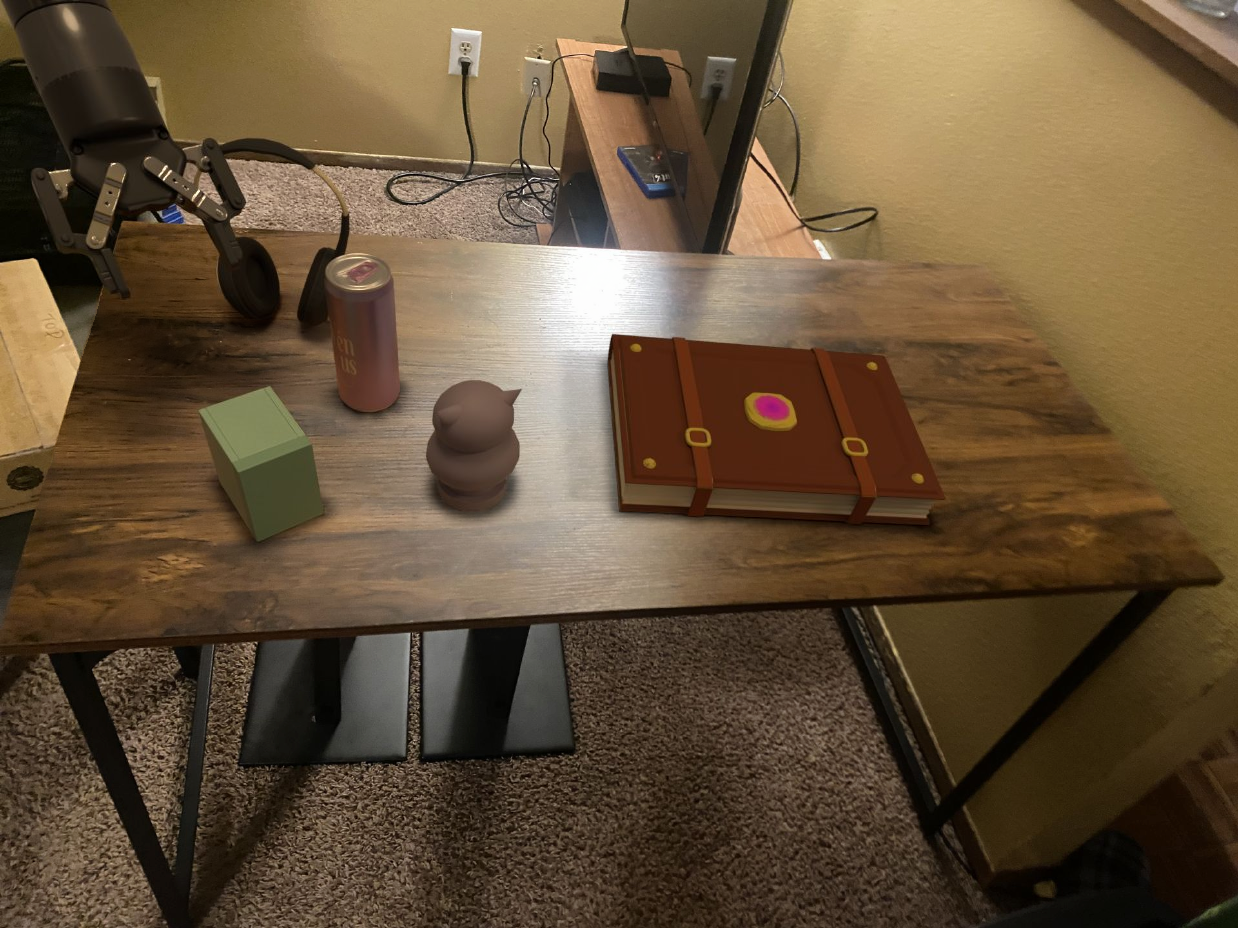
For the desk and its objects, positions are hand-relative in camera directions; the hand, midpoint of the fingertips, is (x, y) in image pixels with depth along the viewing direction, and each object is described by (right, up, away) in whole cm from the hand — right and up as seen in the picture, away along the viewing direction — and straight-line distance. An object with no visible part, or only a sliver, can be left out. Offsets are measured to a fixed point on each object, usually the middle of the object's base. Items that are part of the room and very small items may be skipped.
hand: (182, 283), depth 68 cm
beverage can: (+10, -8, +17) cm, 21 cm away
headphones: (0, +1, +23) cm, 23 cm away
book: (+51, -12, +21) cm, 56 cm away
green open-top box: (+5, -18, +6) cm, 19 cm away
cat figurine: (+22, -17, +11) cm, 30 cm away
